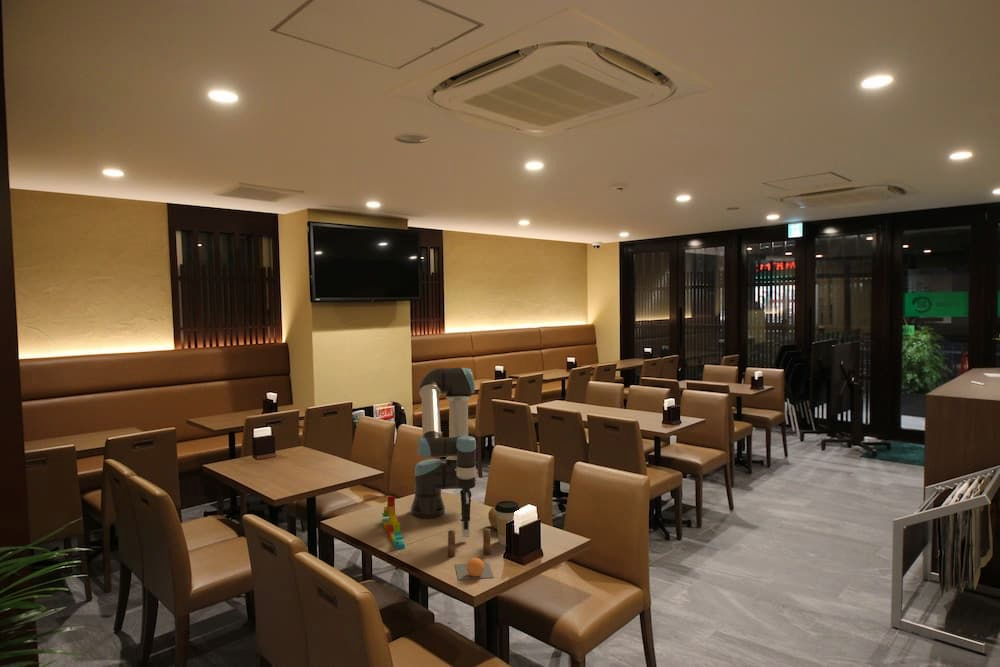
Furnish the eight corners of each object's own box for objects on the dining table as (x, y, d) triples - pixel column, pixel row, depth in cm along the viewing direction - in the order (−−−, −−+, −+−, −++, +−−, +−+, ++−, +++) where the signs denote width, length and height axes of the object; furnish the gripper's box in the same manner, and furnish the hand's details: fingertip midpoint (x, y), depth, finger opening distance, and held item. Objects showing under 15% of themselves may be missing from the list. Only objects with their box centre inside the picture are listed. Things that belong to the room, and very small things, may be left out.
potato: (497, 536, 234) (497, 517, 234) (483, 525, 247) (483, 506, 247) (519, 533, 238) (519, 513, 238) (504, 521, 251) (504, 503, 251)
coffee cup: (522, 545, 226) (523, 506, 225) (498, 548, 223) (498, 509, 222) (515, 536, 235) (515, 499, 234) (491, 538, 232) (491, 501, 232)
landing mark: (454, 564, 207) (454, 564, 207) (488, 562, 209) (488, 562, 209) (458, 580, 196) (458, 579, 196) (493, 577, 198) (493, 577, 198)
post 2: (482, 552, 218) (483, 528, 218) (489, 552, 219) (489, 528, 219) (483, 555, 216) (484, 531, 216) (490, 554, 216) (490, 530, 216)
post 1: (447, 554, 216) (447, 530, 216) (454, 554, 217) (454, 530, 216) (448, 557, 214) (448, 533, 213) (455, 557, 214) (455, 532, 214)
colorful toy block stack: (405, 549, 222) (405, 509, 221) (396, 550, 221) (397, 510, 220) (389, 522, 250) (389, 487, 249) (382, 523, 249) (382, 488, 248)
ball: (467, 581, 196) (465, 571, 202) (485, 579, 197) (482, 570, 203) (467, 564, 195) (465, 555, 201) (485, 563, 196) (483, 554, 202)
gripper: (454, 472, 234) (454, 530, 235) (457, 481, 221) (457, 543, 222) (473, 471, 235) (472, 529, 236) (477, 481, 222) (477, 542, 223)
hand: (465, 536), depth 229 cm, fingers closed
